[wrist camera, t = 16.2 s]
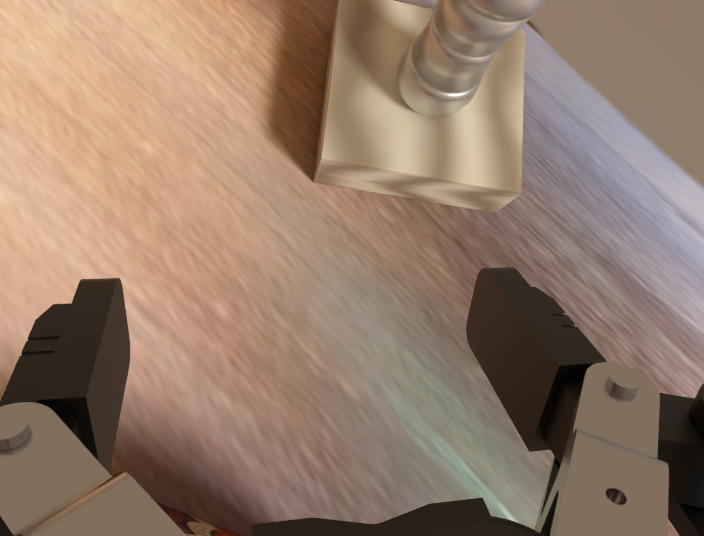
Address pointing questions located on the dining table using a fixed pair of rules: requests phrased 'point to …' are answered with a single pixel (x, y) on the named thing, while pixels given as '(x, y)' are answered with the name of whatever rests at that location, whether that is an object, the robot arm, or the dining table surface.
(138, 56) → the dining table surface
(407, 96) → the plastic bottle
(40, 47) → the dining table surface
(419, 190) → the oak pedestal
